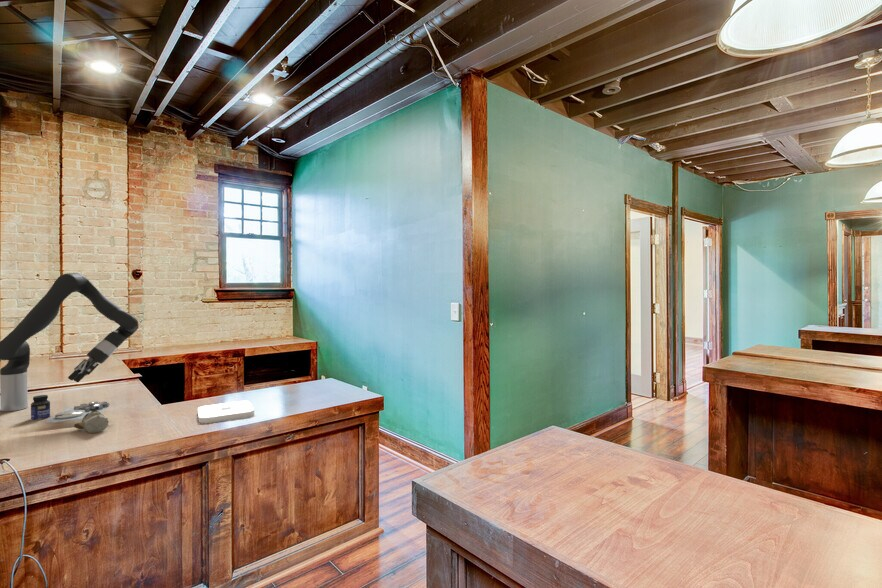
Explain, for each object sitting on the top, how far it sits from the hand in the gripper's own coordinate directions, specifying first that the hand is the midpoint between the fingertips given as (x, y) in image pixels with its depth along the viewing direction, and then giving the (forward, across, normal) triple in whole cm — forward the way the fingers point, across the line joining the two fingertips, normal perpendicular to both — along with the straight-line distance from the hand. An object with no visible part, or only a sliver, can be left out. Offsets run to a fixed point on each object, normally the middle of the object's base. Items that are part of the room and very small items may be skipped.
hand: (72, 380), depth 194 cm
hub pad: (+12, +6, +8) cm, 16 cm away
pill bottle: (+19, 0, +3) cm, 20 cm away
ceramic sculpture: (+13, +33, +11) cm, 37 cm away
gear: (+6, -1, +15) cm, 16 cm away
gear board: (+11, +4, +12) cm, 17 cm away
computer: (-16, +55, +42) cm, 71 cm away
